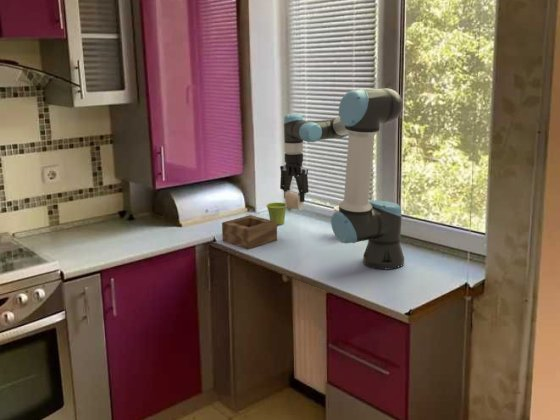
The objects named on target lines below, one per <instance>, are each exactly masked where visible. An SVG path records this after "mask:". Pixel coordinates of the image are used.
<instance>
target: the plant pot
mask: <svg viewBox="0 0 560 420" xmlns="http://www.w3.org/2000/svg"><path fill="white" fill-rule="evenodd" d="M266 208H267V211H268V217H269V220H271V221H275V222H277V226H278V225H280V226H281V225H284V224H285V218H286V217H285V215H286V210H287V207H285V202H269V203H267V204H266Z"/></svg>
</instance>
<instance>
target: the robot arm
mask: <svg viewBox="0 0 560 420" xmlns="http://www.w3.org/2000/svg"><path fill="white" fill-rule="evenodd" d="M403 109H404V102H403V98H402V97H401V95H400V94H399V93H398V92H397V91H396V90H394V89H392V88H388V87H382V88H362V89H361V88H358V89H354V90H349V91H347V92H346V93H345V94H344V95H342V97H341V99H340V102H339V106H338V116H337V117H335V118H332V119H325V120H324V119H323V120H310V121H309V120H308V121H306V120H305V121H304V118H303V115H302V114H300V113H290V114H289V113H287V114H285V115H284V117H283V119H284V120H283V137H284V138H283V139H284V142H283V143H284V146H283V147H284V163H285V165H279V166H280V167H279V168H280V184H279V185H280V186H279V188H280V190H282V191H283V196H284V197H283V198H284V203H285V207H286V208H288V207H287V205H286V196H287V194H288V190H289V191H290V193H292V191H291V185H292V181H293V178H294V179H295V182H296V186H297V191H298V193H297V195H298V209H297V211H302V210H304V208H305V207H304V203H305V195H306V194H308V193H309V181H308V177H309V176H308V175H309V169H308V168H304V166H303V162H304V153H303V152H304V142H307V143H316V142H318V141H323V140H329V139H330V140H331V139H342V138H346V137H348V141H347V143H348V144H347V156H346V166H345V167H346V168H345V181H344V183H345V184H344V193H343V194H344V195H343V196H344V198H343V200H342V201H340V202H339V204H338V206H339V211H338V212H335V213H334V212H333V214H332V216H331V220H330V224H331V229H332V231H333V234H334V236H335V237H336V239H337V240H338V241H339V242H340V243H343V244H356V243H359V242H364V241H367V245H366V247H365V251H364V253H363V257H362V263H363V264H364V265H365V266H366V267H369V268H372V267H373V268H372V269H377V268H380V269H379V270H386V269H385V268H395V267H398V266H401V265H403V264H404V265H405V256H404V252H403V248H402V246H401V231H402V217H403V216H402V207H401V205H400V204H398V203H396V202H391V201H385V200H371V201H370V200H369V199H370V187H371V178H372V177H371V175H372V164H373V153H374V152H373V151H374V143H375V142H374V141H375V135H377V133H379V132H380V126H381V124H387V123H390V122H393V121H395V120H397V119H398V118H400V116H401V114H402V113H403ZM369 201H370V202H369ZM404 265H403V266H404ZM381 268H382V269H381ZM395 269H396V268H395Z"/></svg>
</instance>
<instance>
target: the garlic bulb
mask: <svg viewBox="0 0 560 420" xmlns="http://www.w3.org/2000/svg"><path fill="white" fill-rule="evenodd" d="M290 191H291V190H288V194H287V196H286V205H287V207H286V208H289V209H290V210H291V209H293V210H298V193H293V192H291V193H290Z"/></svg>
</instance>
